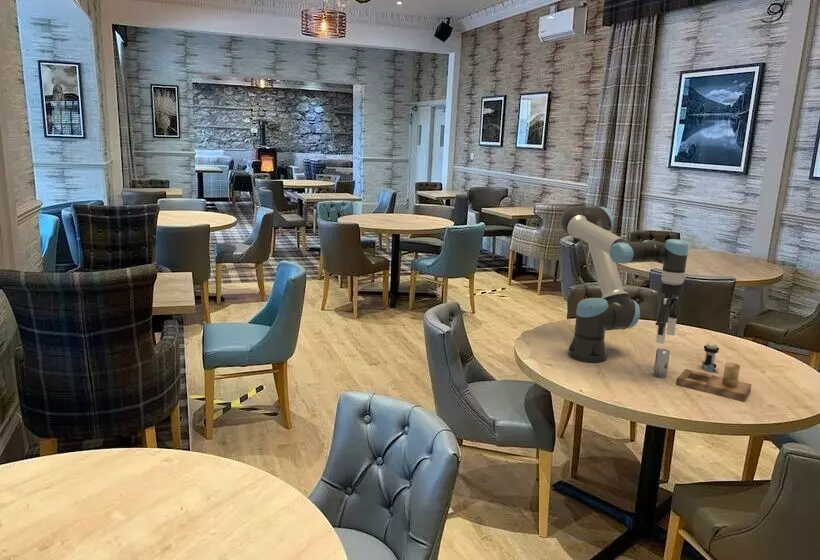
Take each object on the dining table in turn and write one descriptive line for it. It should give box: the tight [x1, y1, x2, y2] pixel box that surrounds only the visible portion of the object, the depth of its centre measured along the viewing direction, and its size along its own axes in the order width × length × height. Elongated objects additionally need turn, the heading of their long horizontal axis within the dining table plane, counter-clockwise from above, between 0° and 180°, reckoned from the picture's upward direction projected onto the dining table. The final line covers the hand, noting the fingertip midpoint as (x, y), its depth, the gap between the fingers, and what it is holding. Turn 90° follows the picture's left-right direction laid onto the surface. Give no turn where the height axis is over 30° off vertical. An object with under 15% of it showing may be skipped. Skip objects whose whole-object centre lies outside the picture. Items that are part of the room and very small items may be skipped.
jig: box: [675, 362, 752, 402], centre depth 213 cm, size 22×12×10 cm, turn 52°
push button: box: [701, 343, 720, 373], centre depth 231 cm, size 7×5×10 cm
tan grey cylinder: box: [652, 347, 671, 379], centre depth 223 cm, size 5×5×10 cm
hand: (665, 338), depth 221 cm, fingers open, 13 cm apart
